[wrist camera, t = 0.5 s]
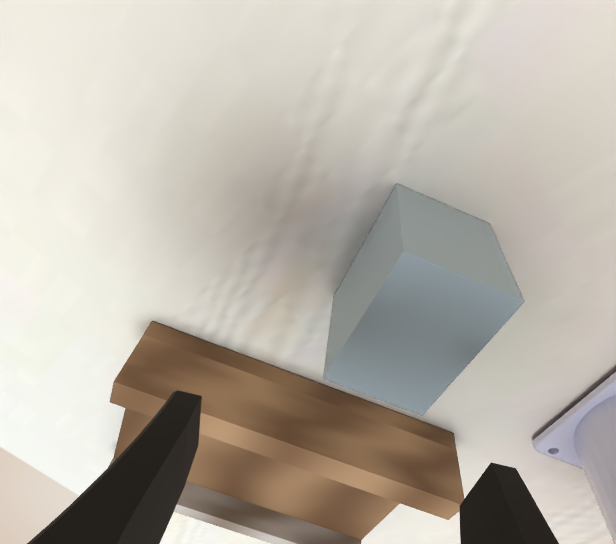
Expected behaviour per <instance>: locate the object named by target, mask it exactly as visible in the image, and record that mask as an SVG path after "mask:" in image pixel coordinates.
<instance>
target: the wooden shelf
mask: <svg viewBox="0 0 616 544" xmlns="http://www.w3.org/2000/svg"><path fill="white" fill-rule="evenodd" d="M177 390H179V391H183V392H187V393H192V394H196V395H200V396H202V401H201V415H200V429H199V443H198V448H197V451H196V454H195V457H194V460H193V463H192V466H191V469H190V472H189V475H188V478H187V481H186V484H185V487H184V489H183V491H182V494H181V496H180V498H179V500H178V503H177V505H176V507H175V509H174V512H176V513H179V514H183V515H186V516H189V517H192V518H195V519H198V520H201V521H204V522H207V523H210V524H213V525H216V526H219V527H223V528H226V529H229V530H232V531H235V532H238V533H241V534H244V535H247V536H250V537H253V538H256V539H259V540H262V541H266V542H269V543H272V544H361V540H362V539H363V538H364V537H365V536H366V535H367V534H368V533H369V532H370V531H371V530H372V529H373V528H374V527H375V526H376V525H377V524H379V523H380V522H381V521H382V520H383V519H384V518H385V517H386V516H387V515H388V514H389V513H390V512H391V511H392V510H393V509H394V508H395V507H396V506H397V505H399V504H400V503H401V504H404V505H407V506H410V507H412V508H415V509H418V510H421V511H424V512H427V513H430V514H433V515H435V516H438V517H441V518H444V519H447V520H449V519H450V518H451V517H453V516H454V515H455V514H456V513H457V512H459V511H460V505H461V503H462V502H463V500H464V494H463V488H462V482H461V476H460V470H459V463H458V457H457V451H456V445H455V439H454V433H451V432H448V431H446V430H443V429H440V428H438V427H435V426H432V425H430V424H427V423H424V422H422V421H419V420H416V419H413V418H411V417H408V416H405V415H403V414H400V413H397V412H395V411H392V410H389V409H387V408H384V407H381V406H379V405H376V404H373V403H371V402H368V401H365V400H362V399H360V398H357V397H354V396H352V395H349V394H346V393H344V392H341V391H338V390H336V389H333V388H330V387H328V386H325V385H322V384H320V383H317V382H314V381H311V380H309V379H306V378H303V377H301V376H298V375H295V374H293V373H290V372H287V371H285V370H282V369H279V368H277V367H274V366H271V365H269V364H266V363H263V362H260V361H258V360H255V359H252V358H250V357H247V356H244V355H242V354H239V353H236V352H234V351H231V350H228V349H226V348H223V347H220V346H218V345H215V344H212V343H209V342H207V341H204V340H201V339H199V338H196V337H193V336H191V335H188V334H185V333H183V332H180V331H177V330H175V329H172V328H169V327H167V326H164V325H161V324H158V323H156V322H153V321H152V322H151V324H150V325H149V327H148V328H147V330H146V332H145V333H144V335H143V336H142V338H141V339H140V341H139V343H138V344H137V346H136V347H135V349H134V351H133V352H132V354H131V355H130V357H129V358H128V360H127V362H126V363H125V365H124V366H123V368H122V370H121V371H120V373H119V374H118V376H117V377H116V379H115V381H114V383H113V388H112V393H111V398H110V402H111V403H114V404H116V405H119V406H122V407H125V408H126V409H125V413H124V417H123V421H122V425H121V429H120V433H119V437H118V442H117V446H116V450H115V454H114V458H113V459H112V461H111V463H110V465H111V464H112V463H113V462H114V461H115V460H116V459H117V458H118V457H119V456H120V455H121V454H122V452H123V451H124V450H125V449H126V448H127V447H128V446H129V445H130V444H131V443H132V442H133V441H134V440H135V438H136V437H137V436H138V435H139V434H140V433H141V432H142V430H143V429H144V428H145V427H146V426H147V425H148V423H149V422H150V421H151V420H152V419H153V417H154V416H155V415H156V414H157V413H158V411H159V410H160V409H161V408H162V406H163V405H164V404H165V402H166V401H167V400H168V398H169V397H170V396H171V394H172V393H173V392H175V391H177ZM110 465H109V466H110Z"/></svg>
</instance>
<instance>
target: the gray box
mask: <svg viewBox="0 0 616 544" xmlns="http://www.w3.org/2000/svg"><path fill="white" fill-rule="evenodd" d="M524 302H525V301H524V299H523V297H522V294H521V292H520V290H519V288H518V285H517V283H516V281H515V279H514V277H513V274H512V272H511V270H510V268H509V265H508V263H507V261H506V259H505V256H504V254H503V252H502V250H501V247H500V245H499V243H498V241H497V238H496V236H495V234H494V232H493V229H492V227H491V225H490V224H489V223H487V222H485V221H483V220H480V219H478V218H476V217H473V216H471V215H469V214H466V213H464V212H462V211H460V210H457V209H455V208H453V207H450V206H448V205H446V204H444V203H441V202H439V201H437V200H434V199H432V198H430V197H427V196H425V195H423V194H421V193H418V192H416V191H414V190H411V189H409V188H407V187H404V186H402V185H400V184H398V183H397V184H396V185H395V187H394V189H393V191H392V193H391V194H390V196H389V198H388V200H387V202H386V203H385V205H384V207H383V209H382V211H381V212H380V214H379V216H378V218H377V220H376V221H375V223H374V225H373V227H372V228H371V230H370V232H369V234H368V236H367V237H366V239H365V241H364V243H363V245H362V246H361V248H360V250H359V252H358V254H357V255H356V257H355V259H354V261H353V263H352V264H351V266H350V268H349V270H348V272H347V273H346V275H345V277H344V279H343V280H342V282H341V284H340V286H339V288H338V289H337V291H336V293H335V295H334V297H333V304H332V312H331V320H330V328H329V336H328V344H327V352H326V360H325V368H324V375H323V379H325V380H327V381H330V382H333V383H335V384H338V385H341V386H344V387H346V388H349V389H352V390H354V391H357V392H360V393H362V394H365V395H368V396H370V397H373V398H376V399H378V400H381V401H384V402H386V403H389V404H392V405H395V406H397V407H400V408H403V409H405V410H408V411H411V412H413V413H416V414H419V415H421V416H422V415H423V414H424V413H425V412H426V411H427V410H428V409H429V407H430V406H431V405H432V404H433V403H434V402H435V401H436V400H437V399H438V397H439V396H440V395H441V394H442V393H443V392H444V391H445V390H446V388H447V387H448V386H449V385H450V384H451V383H452V382H453V381H454V380H455V378H456V377H457V376H458V375H459V374H460V373H461V372H462V371H463V370H464V368H465V367H466V366H467V365H468V364H469V363H470V362H471V361H472V360H473V358H474V357H475V356H476V355H477V354H478V353H479V352H480V351H481V349H482V348H483V347H484V346H485V345H486V344H487V343H488V342H489V341H490V339H491V338H492V337H493V336H494V335H495V334H496V333H497V332H498V331H499V329H500V328H501V327H502V326H503V325H504V324H505V323H506V322H507V320H508V319H509V318H510V317H511V316H512V315H513V314H514V313H515V312H516V310H517V309H518V308H519V307H520V306H521V305H522V304H523V303H524Z"/></svg>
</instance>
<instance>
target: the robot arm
mask: <svg viewBox="0 0 616 544" xmlns="http://www.w3.org/2000/svg"><path fill="white" fill-rule="evenodd" d="M201 401H202V396H200V395H196V394H192V393H187V392H183V391H179V390H177V391H175V392H173V393H172V394H171V396H170V397H169V398H168V400H167V401H166V402H165V404H164V405H163V406H162V408H161V409H160V410H159V411H158V413H157V414H156V415H155V416H154V417H153V419H152V420H151V421H150V422H149V423H148V425H147V426H146V427H145V428H144V429H143V430H142V432H141V433H140V434H139V435H138V436H137V437H136V438H135V440H134V441H133V442H132V443H131V444H130V445H129V446H128V447H127V448H126V449H125V450H124V451H123V452H122V454H121V455H120V456H119V457H118V458H117V459H116V460H115V461H114V462H113V463H112V464H111V465H110V466H109V467H108V469H107V470H106V471H105V472H104V473H103V474H102V475H101V476H100V477H99V478H98V479H97V480H95V481H94V482H93V483H92V484H91V485H90V486H89V487H88V488H87V489H86V490H85V491H84V492H83V493H82V494H81V495H80V496H79V497H78V498H77V499H76V500H75V501H74V502H73V503H72V504H71V505H70V506H69V507H68V508H67V509H66V510H64V511H63V512H62V513H61V514H60V515H59V516H58V517H57V518H56V519H55V520H54V521H52V522H51V523H50V524H49V525H48V526H47V527H46V528H45V529H43V530H42V531H41V532H40V533H39V534H38V535H37V536H35V537H34V538H33V539H32V540H31V541H30V542H29V543H27V544H159V543H160V541H161V539H162V536H163V534H164V532H165V530H166V527H167V525H168V523H169V521H170V518H171V516H172V514H173V512H174V509H175V507H176V505H177V503H178V500H179V498H180V496H181V494H182V491H183V489H184V487H185V484H186V481H187V478H188V475H189V472H190V469H191V466H192V463H193V460H194V457H195V454H196V451H197V448H198V443H199V429H200V415H201ZM533 446H534V449H535V450H536V451H537V452H540V453H542V454H545V455H548V456H550V457H553V458H556V459H558V460H561V461H564V462H566V463H569V464H571V465H574V466H577V467H579V468H582V469H584V471H585V474H586V476H587V478H588V481H589V483H590V486H591V488H592V491H593V493H594V495H595V498H596V500H597V503H598V505H599V508H600V510H601V512H602V515H603V517H604V520H605V522H606V525H607V527H608V529H609V532H610V534H611V537H612V539H613V542H614V544H616V372H615V373H614V374H612V375H611V376H610V377H609V378H608V379H606V380H605V381H604V382H603V383H601V384H600V385H599V386H598V387H597V388H595V389H594V390H593V391H592V392H591V393H589V394H588V395H587V396H586V397H585V398H583V399H582V400H581V401H580V402H579V403H577V404H576V405H575V406H574V407H573V408H571V409H570V410H569V411H568V412H566V413H565V414H564V415H563V416H562V417H560V418H559V419H558V420H557V421H556V422H554V423H553V424H552V425H551V426H550V427H548V428H547V429H546V430H545V431H544V432H542V433H541V434H540V435H539V436H537V437H536V438H535V439H534V440H533ZM460 535H461V544H559V543H558V541H557V540H556V538H555V536H554V534H553V533H552V531H551V529H550V527H549V526H548V524H547V522H546V521H545V519H544V517H543V515H542V514H541V512H540V510H539V508H538V506H537V505H536V503H535V501H534V499H533V498H532V496H531V494H530V492H529V491H528V489H527V487H526V485H525V484H524V482H523V480H522V478H521V477H520V475H519V473H518V471H517V470H516V468H512V467H508V466H503V465H499V464H495V463H490V465H489V466H488V468H487V469H486V470H485V472H484V473H483V474H482V476H481V477H480V479H479V480H478V481H477V483H476V484H475V485H474V487H473V488H472V490H471V491H470V492H469V494H468V495H467V496H466V498H465V499H464V500H463V502H462V503H461V505H460Z"/></svg>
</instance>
